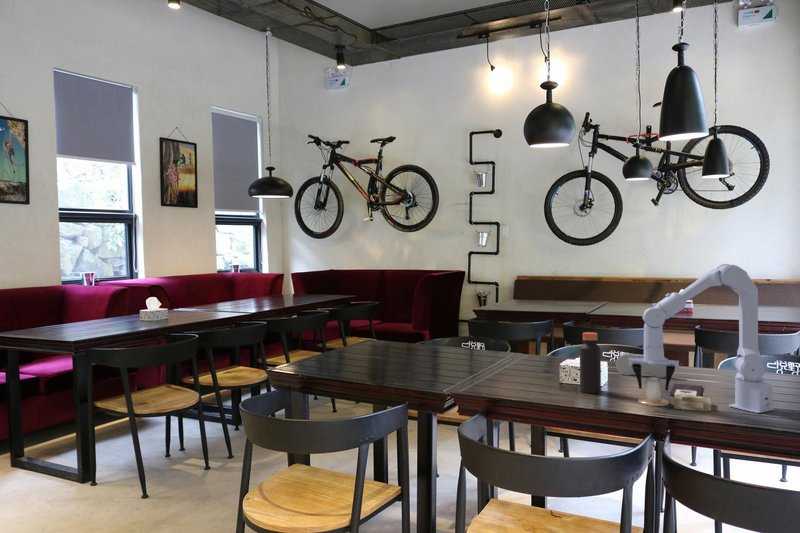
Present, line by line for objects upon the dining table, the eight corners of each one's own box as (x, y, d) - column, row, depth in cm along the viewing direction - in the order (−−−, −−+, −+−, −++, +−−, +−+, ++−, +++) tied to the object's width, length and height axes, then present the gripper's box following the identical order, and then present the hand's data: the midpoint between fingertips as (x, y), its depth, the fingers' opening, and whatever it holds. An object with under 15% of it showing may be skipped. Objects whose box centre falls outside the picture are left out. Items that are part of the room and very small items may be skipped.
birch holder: (709, 403, 193) (709, 397, 193) (711, 411, 184) (711, 405, 184) (674, 400, 197) (674, 394, 197) (674, 408, 188) (674, 402, 188)
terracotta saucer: (675, 404, 193) (675, 402, 193) (655, 407, 189) (655, 406, 189) (651, 397, 201) (651, 396, 201) (631, 401, 197) (631, 399, 197)
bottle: (600, 394, 207) (600, 334, 206) (579, 393, 209) (578, 334, 209) (601, 389, 213) (600, 332, 213) (580, 388, 216) (580, 331, 215)
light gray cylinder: (663, 401, 194) (663, 379, 194) (653, 403, 192) (653, 381, 192) (652, 398, 198) (652, 376, 198) (642, 400, 196) (642, 378, 196)
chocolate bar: (702, 385, 215) (700, 397, 199) (702, 388, 215) (700, 400, 199) (674, 383, 219) (669, 394, 203) (674, 386, 219) (669, 397, 203)
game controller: (671, 377, 231) (671, 355, 231) (670, 379, 229) (670, 356, 229) (616, 373, 240) (616, 352, 240) (615, 374, 238) (615, 353, 238)
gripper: (627, 346, 194) (628, 389, 194) (678, 349, 188) (678, 393, 188) (629, 343, 200) (629, 385, 201) (678, 345, 194) (678, 388, 195)
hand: (653, 388), depth 195 cm, fingers open, 7 cm apart
